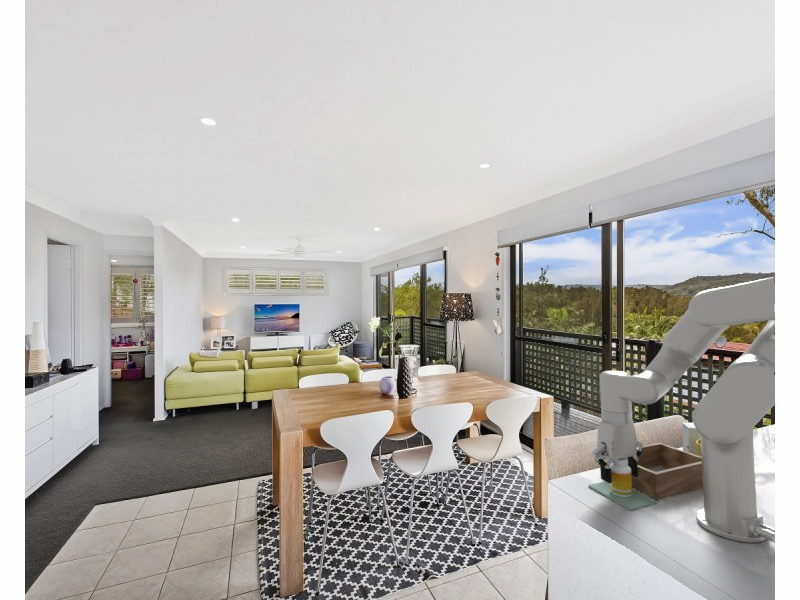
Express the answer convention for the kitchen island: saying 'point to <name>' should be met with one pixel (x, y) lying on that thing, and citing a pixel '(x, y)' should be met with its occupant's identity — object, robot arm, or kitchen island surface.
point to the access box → (667, 472)
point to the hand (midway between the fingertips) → (619, 477)
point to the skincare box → (690, 438)
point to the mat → (628, 502)
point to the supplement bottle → (621, 478)
